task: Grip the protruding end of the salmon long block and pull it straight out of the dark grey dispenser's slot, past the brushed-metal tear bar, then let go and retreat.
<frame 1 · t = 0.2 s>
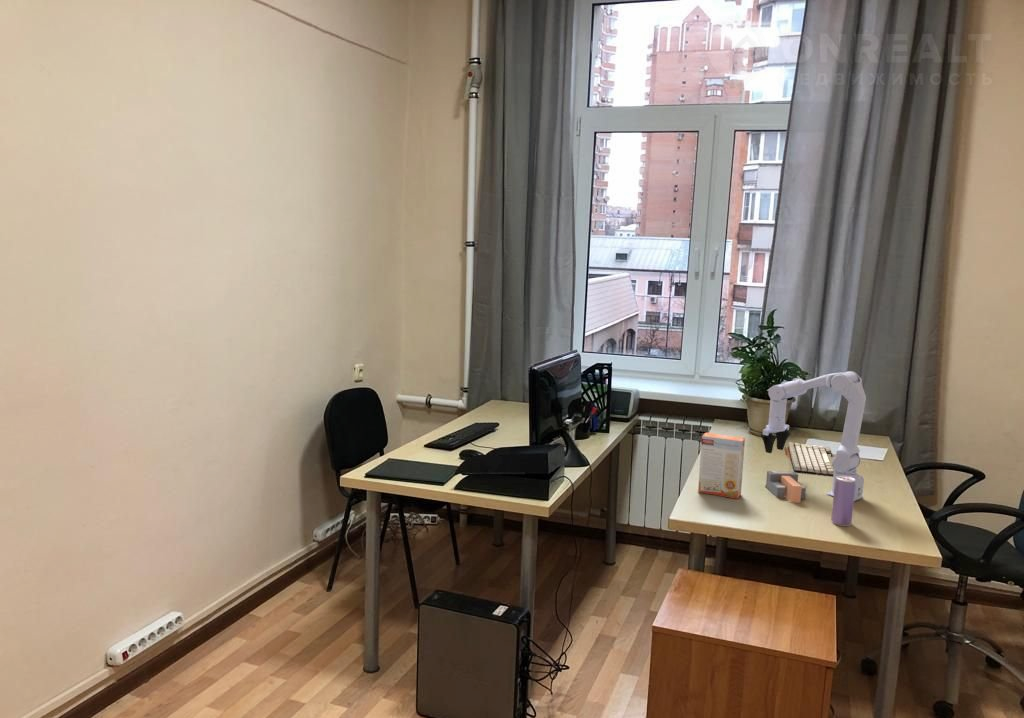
hand: (774, 451, 283), 10 cm above the table, fingers open, 7 cm apart
cracker box: (719, 494, 264), on the table
dispenser: (785, 492, 266), on the table
salmon long block: (789, 497, 262), on the table
mechanical keyboard: (811, 463, 306), on the table
beverage can: (840, 523, 239), on the table
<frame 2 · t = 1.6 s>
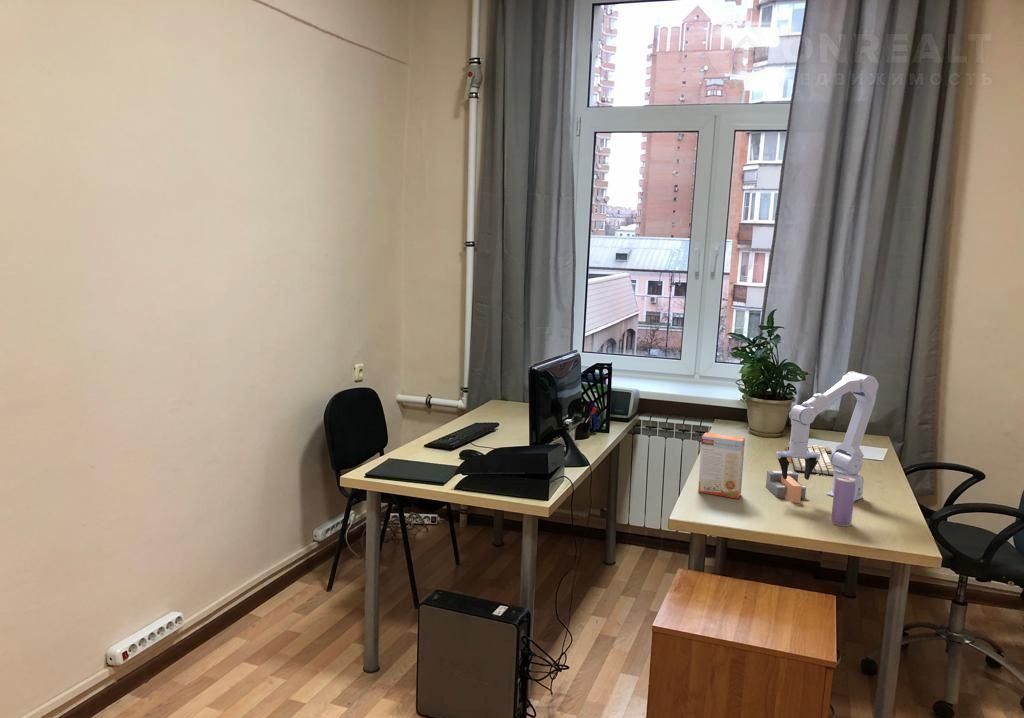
hand: (795, 478, 258), 8 cm above the table, fingers open, 7 cm apart
nothing on the table moved.
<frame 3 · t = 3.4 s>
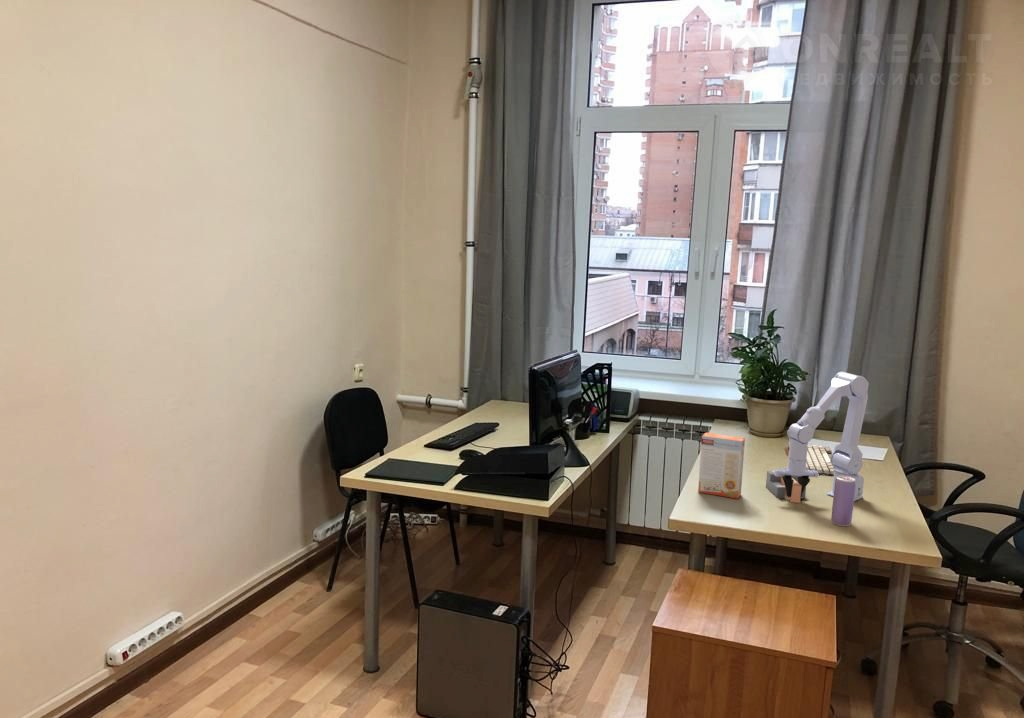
hand: (793, 496, 259), 1 cm above the table, fingers closed on salmon long block, 3 cm apart
salmon long block: (789, 496, 263), on the table, touching gripper
everything else where it was.
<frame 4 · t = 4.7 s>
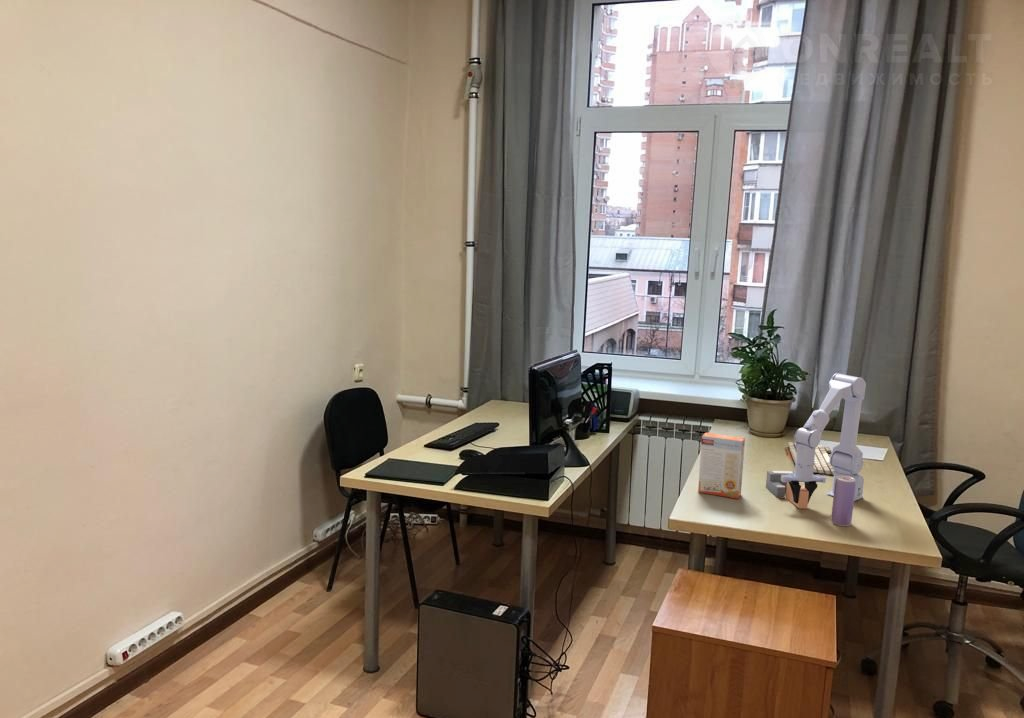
hand: (801, 502, 253), 2 cm above the table, fingers closed on salmon long block, 3 cm apart
salmon long block: (796, 502, 256), on the table, touching gripper
everything else where it was.
when the fingers open (2 cm above the table, at t = 6.2 s): salmon long block stays where it is, on the table.
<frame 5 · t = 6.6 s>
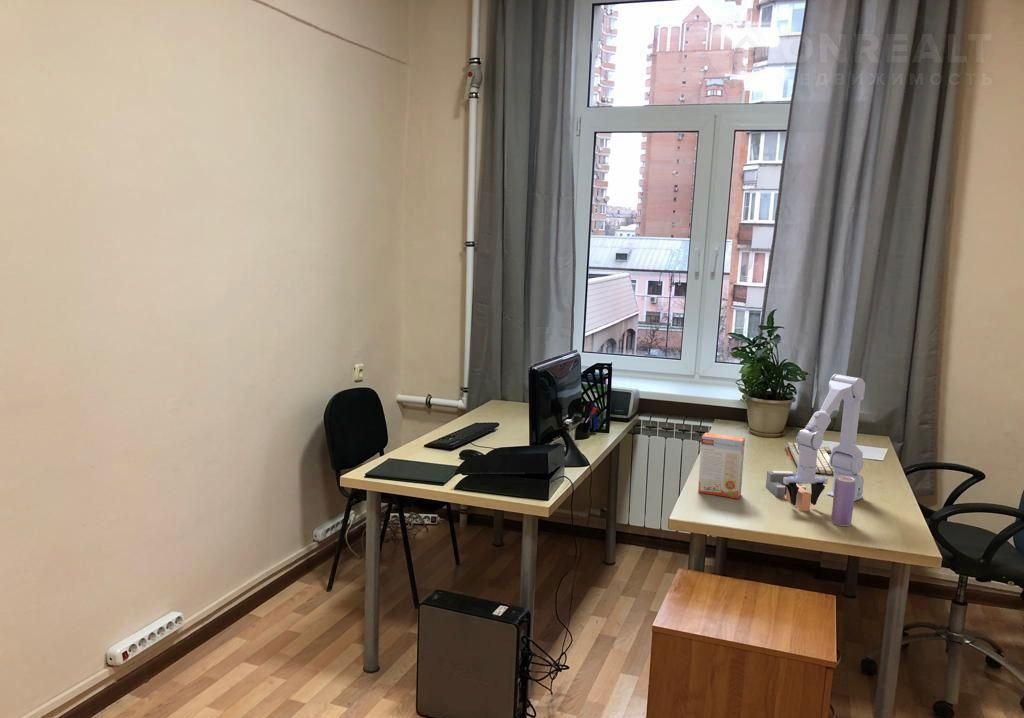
hand: (803, 504, 251), 2 cm above the table, fingers open, 6 cm apart
salmon long block: (797, 505, 255), on the table
everything else where it was.
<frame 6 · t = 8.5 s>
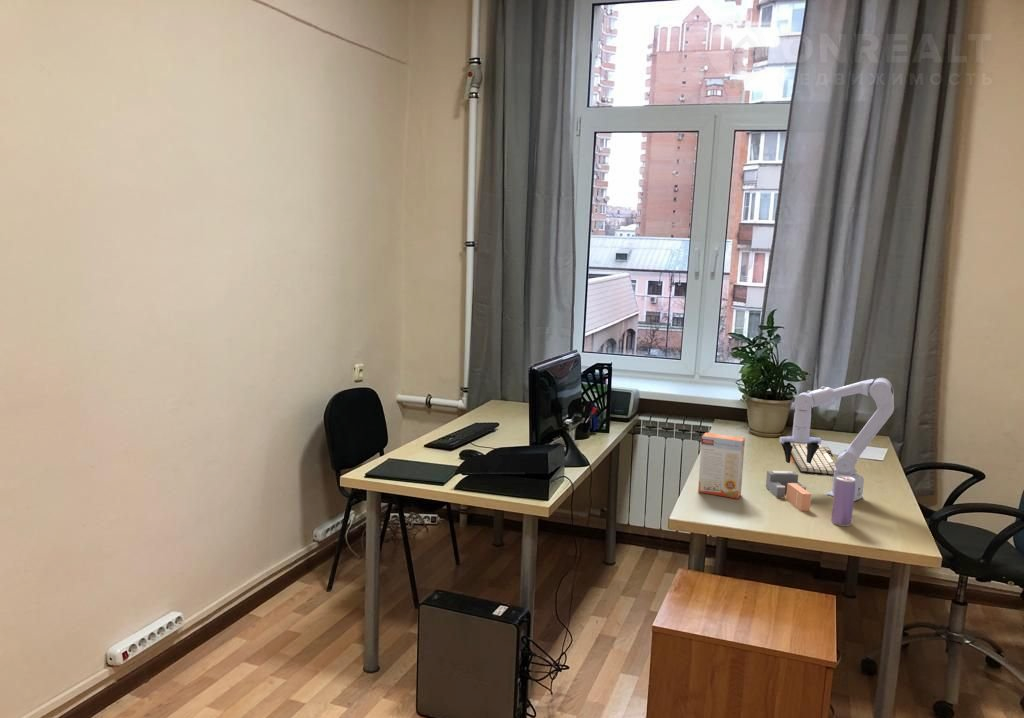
hand: (798, 462, 271), 9 cm above the table, fingers open, 7 cm apart
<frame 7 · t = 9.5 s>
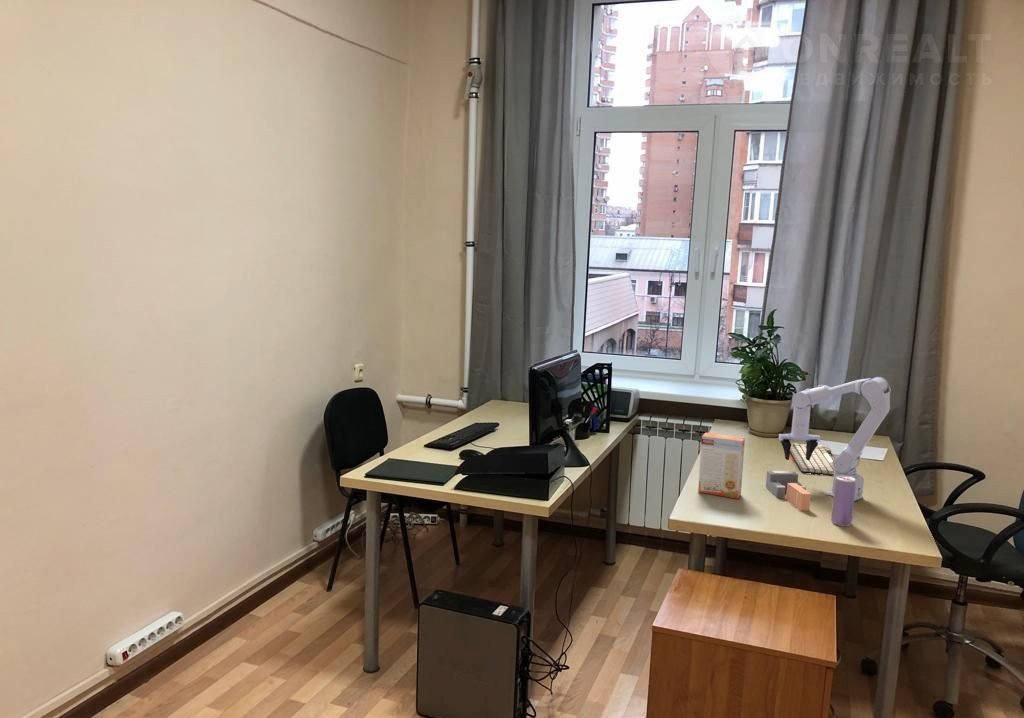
hand: (797, 459, 275), 9 cm above the table, fingers open, 7 cm apart
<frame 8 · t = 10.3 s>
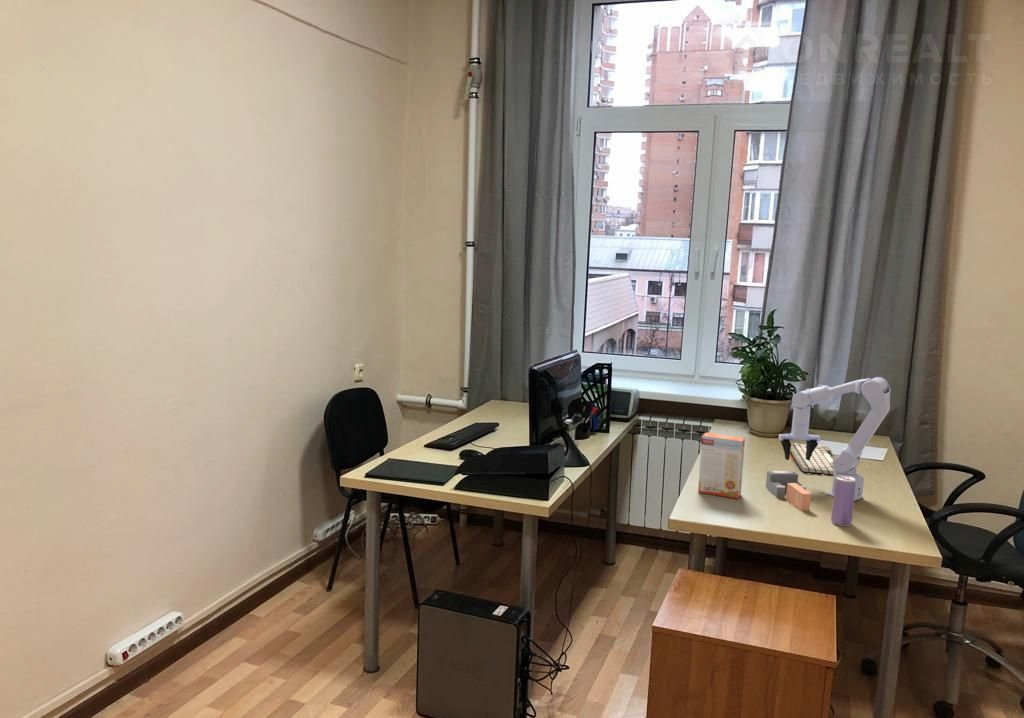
hand: (797, 459, 275), 9 cm above the table, fingers open, 7 cm apart
at the end: salmon long block inside the target area (0.3 cm from its centre), on the table; salmon long block moved 7.8 cm from its start; the gripper is holding nothing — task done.
